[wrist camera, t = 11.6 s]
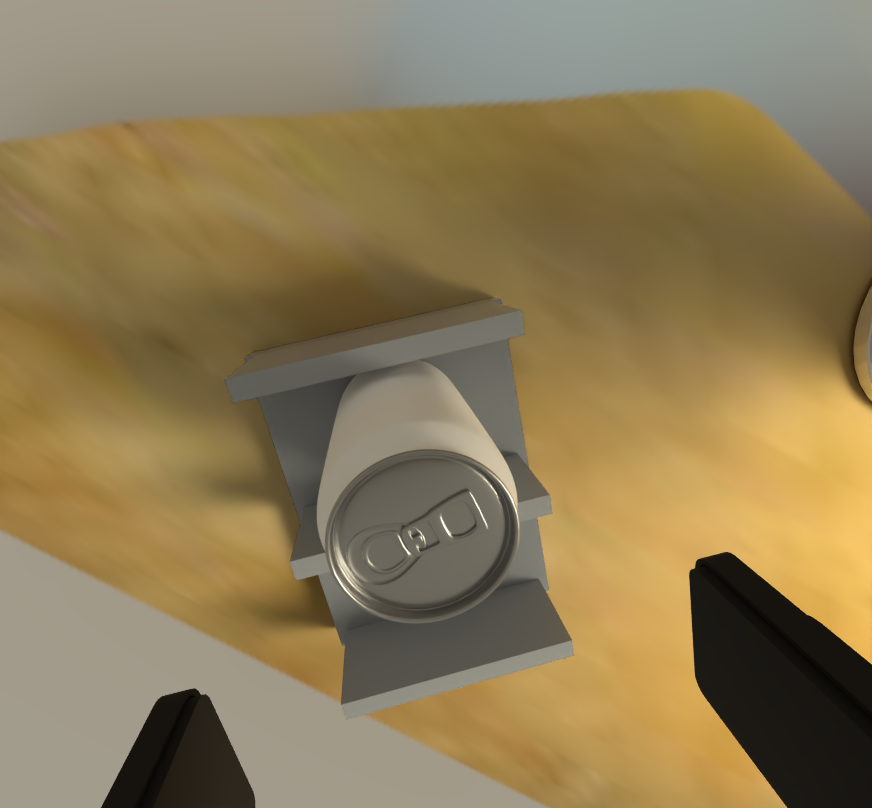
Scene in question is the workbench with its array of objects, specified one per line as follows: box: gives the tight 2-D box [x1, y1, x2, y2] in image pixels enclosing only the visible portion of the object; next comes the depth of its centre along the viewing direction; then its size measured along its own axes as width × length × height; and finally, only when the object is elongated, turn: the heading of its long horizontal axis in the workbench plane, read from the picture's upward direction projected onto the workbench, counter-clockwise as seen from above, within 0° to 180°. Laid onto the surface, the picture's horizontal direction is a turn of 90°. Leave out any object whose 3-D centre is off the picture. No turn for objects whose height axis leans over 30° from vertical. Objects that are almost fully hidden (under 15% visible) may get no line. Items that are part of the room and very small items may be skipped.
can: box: [317, 360, 520, 623], centre depth 19 cm, size 6×6×12 cm
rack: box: [225, 298, 574, 720], centre depth 25 cm, size 13×18×6 cm
